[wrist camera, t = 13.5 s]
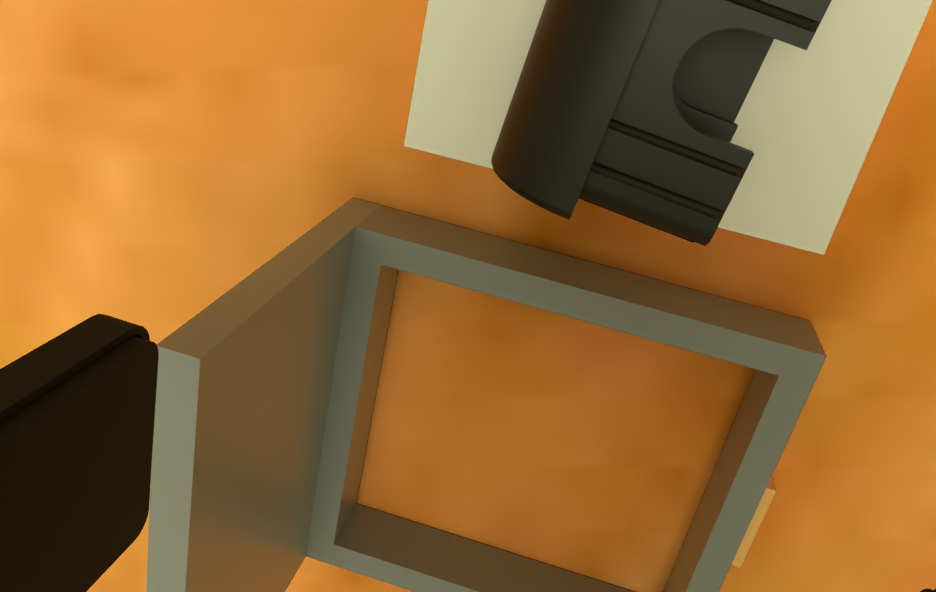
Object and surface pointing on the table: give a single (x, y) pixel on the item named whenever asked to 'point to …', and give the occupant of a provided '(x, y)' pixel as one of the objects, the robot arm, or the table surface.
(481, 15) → the grey mat
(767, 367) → the equipment case
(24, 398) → the robot arm
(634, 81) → the end cap
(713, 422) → the table surface
